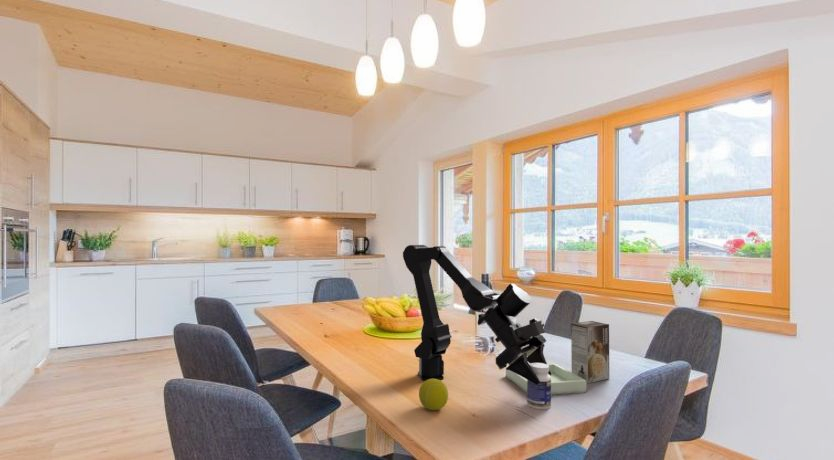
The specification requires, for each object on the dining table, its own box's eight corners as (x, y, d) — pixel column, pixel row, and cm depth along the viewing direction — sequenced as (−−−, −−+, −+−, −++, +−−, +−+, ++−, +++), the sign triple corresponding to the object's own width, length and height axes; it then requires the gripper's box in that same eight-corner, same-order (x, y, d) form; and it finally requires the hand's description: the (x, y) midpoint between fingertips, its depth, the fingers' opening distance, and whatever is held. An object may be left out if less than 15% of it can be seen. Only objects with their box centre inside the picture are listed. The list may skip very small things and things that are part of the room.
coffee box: (592, 372, 132) (592, 320, 132) (610, 379, 126) (610, 324, 126) (570, 377, 127) (570, 322, 128) (588, 383, 122) (588, 327, 122)
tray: (531, 396, 112) (531, 384, 112) (505, 376, 128) (505, 366, 128) (586, 392, 115) (586, 380, 115) (554, 373, 131) (554, 363, 131)
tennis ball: (452, 413, 101) (452, 383, 101) (423, 416, 99) (424, 385, 99) (442, 401, 108) (442, 373, 108) (415, 404, 106) (415, 376, 106)
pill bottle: (552, 411, 102) (552, 369, 103) (527, 409, 104) (527, 367, 104) (549, 402, 108) (550, 362, 108) (526, 400, 109) (526, 360, 109)
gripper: (507, 313, 101) (552, 370, 94) (539, 304, 116) (580, 352, 109) (478, 341, 106) (519, 397, 99) (512, 329, 121) (550, 377, 114)
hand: (544, 379), depth 105 cm, fingers open, 7 cm apart
